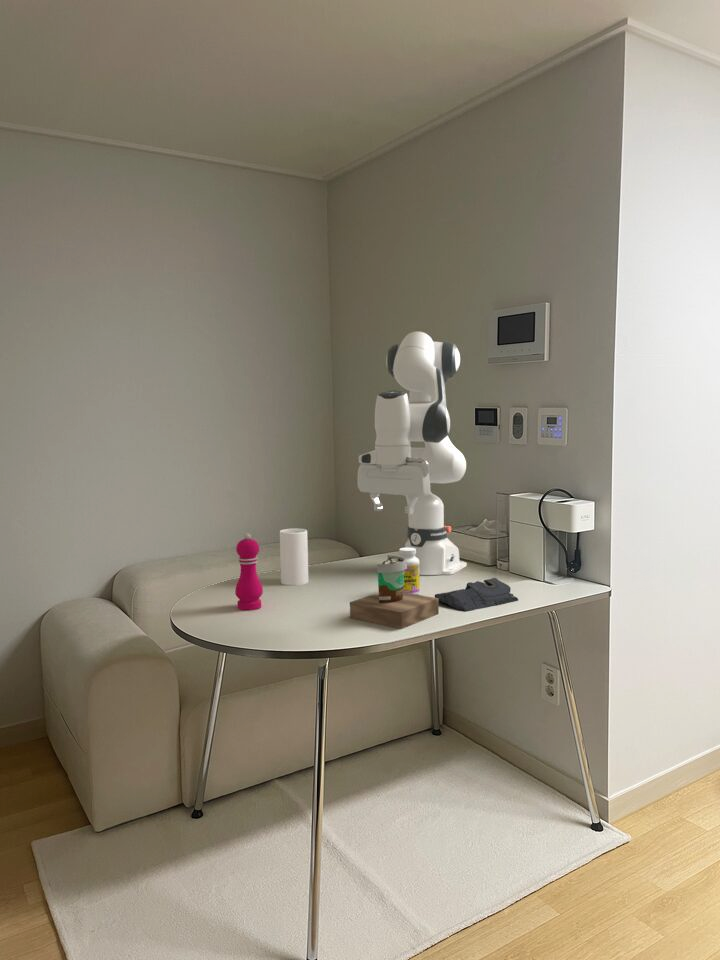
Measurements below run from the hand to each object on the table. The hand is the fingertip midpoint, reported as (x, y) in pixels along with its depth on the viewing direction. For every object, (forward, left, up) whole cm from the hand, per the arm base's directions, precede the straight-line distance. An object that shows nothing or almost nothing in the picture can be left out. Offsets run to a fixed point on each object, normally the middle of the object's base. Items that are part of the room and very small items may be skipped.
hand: (393, 512), depth 192 cm
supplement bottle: (-20, -10, -27) cm, 35 cm away
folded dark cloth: (-25, +9, -27) cm, 38 cm away
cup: (-11, -45, -27) cm, 53 cm away
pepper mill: (+16, -36, -27) cm, 48 cm away
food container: (-1, -1, -23) cm, 23 cm away
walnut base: (0, 0, -26) cm, 26 cm away
